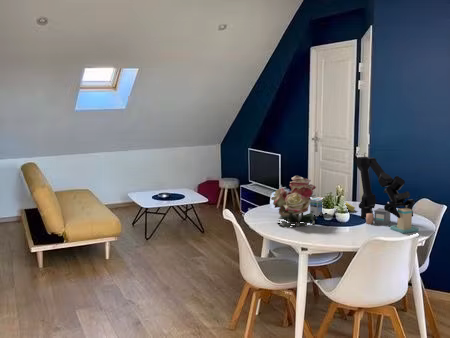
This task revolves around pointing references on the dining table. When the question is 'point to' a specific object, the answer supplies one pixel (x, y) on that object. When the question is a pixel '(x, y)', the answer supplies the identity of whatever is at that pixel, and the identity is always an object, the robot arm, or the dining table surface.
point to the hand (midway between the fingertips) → (406, 217)
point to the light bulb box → (316, 206)
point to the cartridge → (369, 218)
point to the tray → (413, 229)
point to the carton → (404, 218)
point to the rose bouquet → (295, 202)
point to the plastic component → (350, 207)
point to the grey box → (381, 216)
